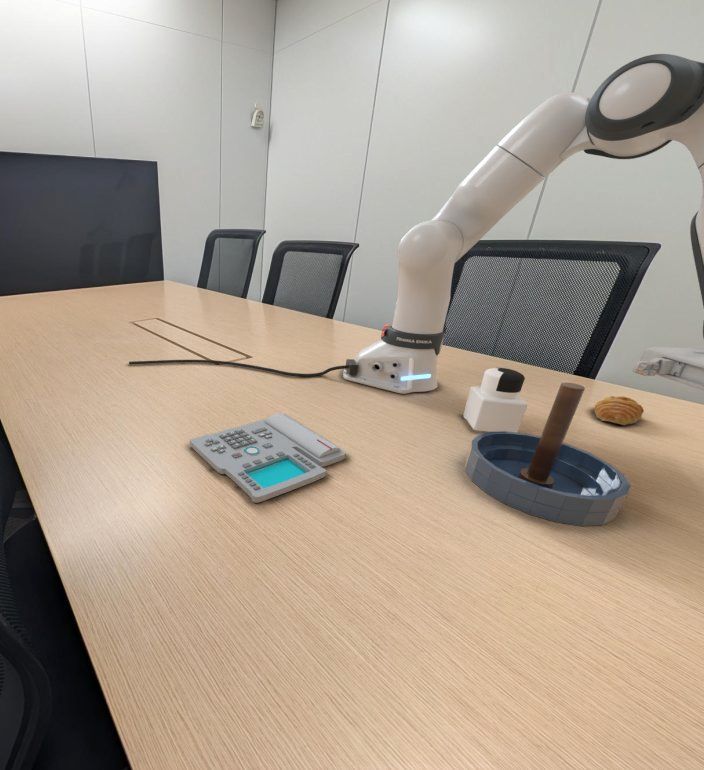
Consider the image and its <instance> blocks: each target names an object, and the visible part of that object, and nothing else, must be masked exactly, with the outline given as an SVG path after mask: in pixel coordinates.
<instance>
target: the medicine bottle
mask: <svg viewBox="0 0 704 770" xmlns="http://www.w3.org/2000/svg"><path fill="white" fill-rule="evenodd" d="M525 379H526V377H525V375H524V374H523V373H521V372H519V371H517V370H514V369H511V368H507V367H492V368H488V369H485V370H484V374H483V377H482V379H481V383H480V386H474V385H473V386H471V387H470V390H469V393H468V396H467V399H466V403H465V407H464V411H463V414H462V417H463V419H464V420H466V421H467V422H468V424H469V425H470V427H471V428H472V430H474V431H481V432H498V431H508V432H518V433H519V431H520V428H521V425H522V423H523V419H524V416H525V413H526V411H527V408H528V403H527V402H526V401H525V400H524V399H523V398H521V397H520V394H521V392H522V388H523V385H524V383H525Z"/></svg>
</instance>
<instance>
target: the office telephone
mask: <svg viewBox="0 0 704 770" xmlns="http://www.w3.org/2000/svg"><path fill="white" fill-rule="evenodd" d="M189 446H190V447H191V448H192V449H193V450H194V451H195V453H197V454H198V455H199V456H200V457H201V458H202V459H203V460H204V461H205V462H206V463H208V465H209V466H211V468H212V469H214V470H215V471H216V472H217V473H218V474H221V475H226V476H227V477H228V478H229V479H230V480H232V481H233V483H235V484H236V485H237V486H238V487H239V488H240V489H241V490H242V491H243V492H245V494H247V496H248V497H249V498H250V499H251V502H253V503H255V504H258V503H263V502H265V501H267V500H270V499H272V498H275V497H277V496H280V495H283V494H286V493H288V492H291V491H293V490H296V489H298V488H301V487H303V486H307V485H309V484H312V483H314V482H317V481H319V480H321V479H323V478H325V477H326V475H327V474H326V473H327V470H326V468H325V467H328V466H331V465H333V464H337V463H338V462H341V461H343V460H345V458H346V452H345V450H344V449H341V448H340V447H339V446H337V445H336V444H334V443H332V442H331V441H330V440H328V439H327V438H324V437H323V436H322V435H320V434H319V433H317V432H315V431H313V430H312V429H310V428H309V427H308V426H305V425H304V424H303V423H301V422H299V421H298V420H296V419H294V418H293V417H290V416H289V415H288V414H287V413H283V414H282V413H274V414H272V415H269V416H267V418H264V419H260V420H256V421H253V422H249V423H246V424H243V425H242V424H241V425H239V426H235V427H231V428H228V429H225V430H220V431H217V432H214V433H210V434H205V435H201V436H198V437H194V438H190V439H189Z"/></svg>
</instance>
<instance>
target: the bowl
mask: <svg viewBox="0 0 704 770" xmlns="http://www.w3.org/2000/svg"><path fill="white" fill-rule="evenodd" d="M540 438H541V435H540V436H539V435H537V434H531V433H526V432H519V431H518V432H508V431H498V432H488V431H486V432H483V433H480V434H477V435H476V436H475V437H474V438H473V439H472V440H471V442H470V445H469V447H468V448H469V449H468V452H467V455H466V457H465V462H464V471H465V474H466V475H467V476H468V478H469V479H470V481H471V482H472V483H473V484H475V486H477V487H478V488H479V489H481V490H482V491H483V492H484V493H485V494H487V495H489V497H492V498H493V499H495V500H497V501H499V502H500V503H502V504H504V505H506V506H509V507H511V508H513V509H515V510H517V511H519V512H523V513H525V514H527V515H530V516H534V517H537V518H541V519H543V520H547V521H550V522H554V523H559V524H565V525H573V526H579V527H589V526H603V525H606V524H608V523H610V522H612V521H614V520H615V519H616V517H617V516H618V514H619V512H620V510H621V508H622V506H623V504H624V502H625V500H626V499H627V496H629V492H630V490H631V487H632V485H631V484H630V481H629V480H628V478H627V477H626V475H625V473H623V472H622V471H620V470H619V469H618V468H617V467H615V466H614V465H613V464H612V463H610V462H608V461H607V460H604V459H603V458H601V457H599V456H597V455H596V454H593V453H591V452H589V451H587V450H585V449H582V448H579V447H578V446H575V445H572V444H569V443H566V442H563V443H562V446H561V448H560V450H559V453H558V455H557V458H556V460H555V463H554V465H553V467H552V470H551V472H550V476H551V477H552V478H553V479H554V481H555V482H554V484H553V487H552V489H549V488H545V487H541V486H538V485H536V484H533V483H530V482H528V481H525V480H523V479H520V478H518V476H519V473H520V470H521V469H524V468H529V466H530V464H531V461H532V458H533V456H534V453H535V451H536V448H537V445H538V443H539V440H540Z"/></svg>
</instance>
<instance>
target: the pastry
mask: <svg viewBox="0 0 704 770" xmlns="http://www.w3.org/2000/svg"><path fill="white" fill-rule="evenodd" d="M644 412H645V410H644V407H643V406H642V405H641V404H639V403H638V401H636V400H635V399H632V398H631V397H628V396H625V395H624V396H621V395H619V396H613V395H611V396H609V397H604V398H603V399H601V400H599V401H598V402H596V404H594V413H595V416H596V418H597V419H600V420H601V421H603V422H609V423H614V424H618V425H621V426H627V425H633V424H636V423H637V421H639V420H641V419H642V415H643V414H644Z"/></svg>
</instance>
